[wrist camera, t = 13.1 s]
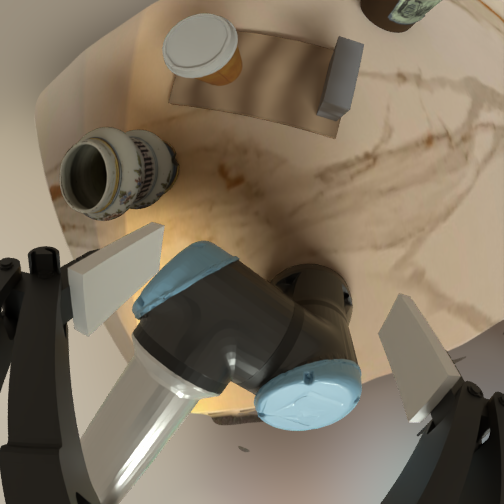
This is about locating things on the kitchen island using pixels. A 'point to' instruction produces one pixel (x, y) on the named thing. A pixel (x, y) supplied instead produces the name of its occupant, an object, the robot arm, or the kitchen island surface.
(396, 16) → the olive oil
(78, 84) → the kitchen island surface
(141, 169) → the apothecary jar
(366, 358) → the kitchen island surface
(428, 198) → the kitchen island surface
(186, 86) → the walnut board
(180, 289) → the robot arm
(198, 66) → the disposable coffee cup
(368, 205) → the kitchen island surface
